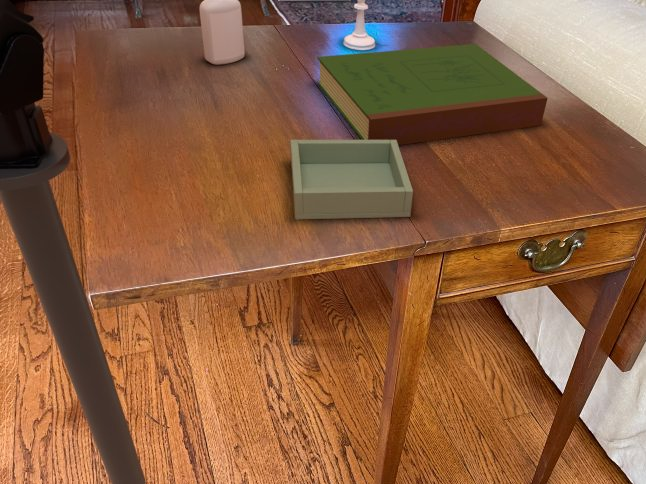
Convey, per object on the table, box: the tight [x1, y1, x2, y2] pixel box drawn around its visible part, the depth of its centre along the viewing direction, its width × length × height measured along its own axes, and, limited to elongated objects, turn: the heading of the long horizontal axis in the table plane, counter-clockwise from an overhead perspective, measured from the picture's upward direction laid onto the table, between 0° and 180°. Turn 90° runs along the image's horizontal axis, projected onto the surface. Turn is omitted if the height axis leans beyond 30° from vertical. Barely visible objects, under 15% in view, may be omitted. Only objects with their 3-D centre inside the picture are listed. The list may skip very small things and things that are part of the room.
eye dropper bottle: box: [199, 0, 246, 65], centre depth 87 cm, size 4×6×12 cm
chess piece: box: [343, 0, 376, 51], centre depth 96 cm, size 5×5×10 cm
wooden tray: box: [290, 139, 414, 221], centre depth 67 cm, size 12×11×3 cm
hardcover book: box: [317, 43, 549, 146], centre depth 84 cm, size 25×19×4 cm
